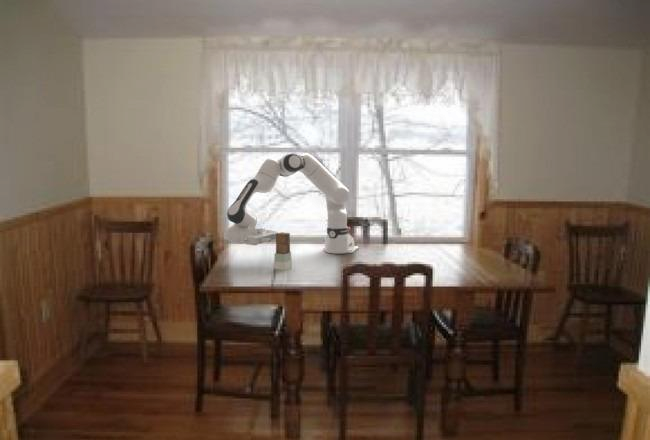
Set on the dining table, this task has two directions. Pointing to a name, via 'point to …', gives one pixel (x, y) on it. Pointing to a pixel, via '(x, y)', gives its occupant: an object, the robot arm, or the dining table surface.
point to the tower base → (283, 265)
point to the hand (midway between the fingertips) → (275, 239)
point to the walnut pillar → (282, 243)
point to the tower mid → (283, 257)
